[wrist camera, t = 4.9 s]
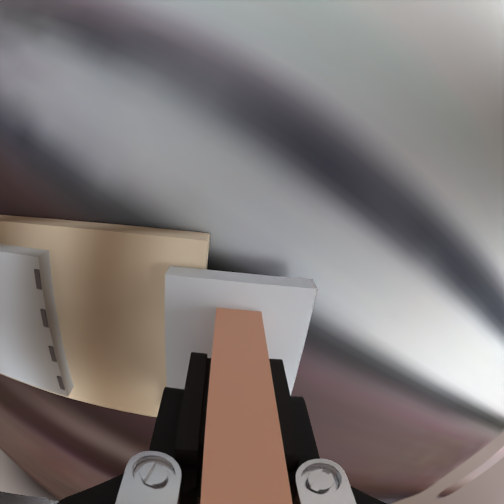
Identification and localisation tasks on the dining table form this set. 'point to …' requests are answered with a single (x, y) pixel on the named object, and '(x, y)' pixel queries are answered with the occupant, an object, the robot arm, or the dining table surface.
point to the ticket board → (89, 307)
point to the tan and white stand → (238, 372)
